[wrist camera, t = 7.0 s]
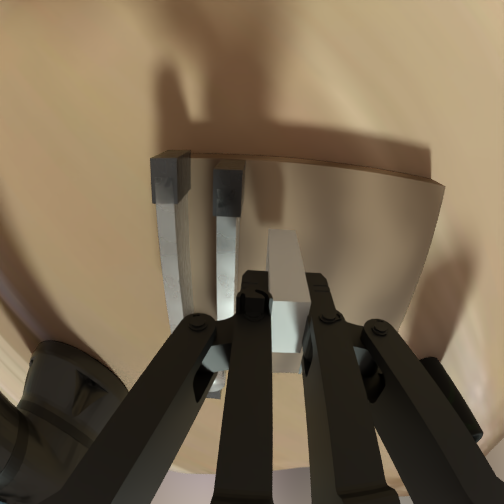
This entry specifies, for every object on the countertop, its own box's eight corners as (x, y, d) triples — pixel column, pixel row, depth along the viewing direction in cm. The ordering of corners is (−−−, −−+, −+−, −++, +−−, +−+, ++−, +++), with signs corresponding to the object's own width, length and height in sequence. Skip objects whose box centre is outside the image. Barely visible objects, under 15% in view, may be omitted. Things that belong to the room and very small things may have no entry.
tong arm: (220, 331, 22) (215, 360, 19) (221, 159, 16) (213, 169, 13) (238, 333, 22) (235, 361, 19) (245, 160, 16) (242, 170, 13)
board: (193, 350, 26) (190, 366, 24) (181, 153, 18) (173, 158, 16) (373, 355, 26) (379, 369, 24) (431, 179, 18) (445, 186, 16)
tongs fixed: (188, 375, 25) (182, 400, 22) (168, 150, 16) (150, 158, 13) (228, 379, 25) (225, 405, 22) (231, 150, 16) (225, 158, 13)
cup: (398, 359, 27) (432, 452, 16) (453, 344, 26) (495, 423, 15) (386, 397, 30) (409, 477, 19) (436, 382, 29) (465, 454, 19)
